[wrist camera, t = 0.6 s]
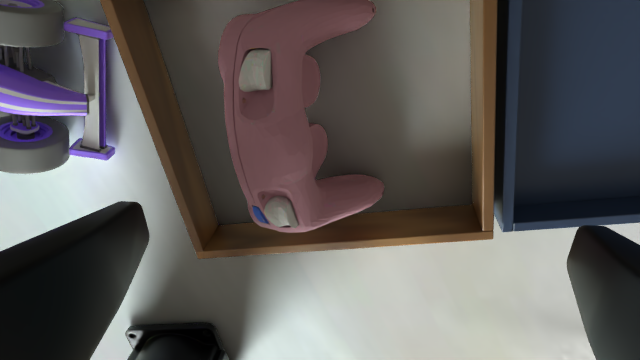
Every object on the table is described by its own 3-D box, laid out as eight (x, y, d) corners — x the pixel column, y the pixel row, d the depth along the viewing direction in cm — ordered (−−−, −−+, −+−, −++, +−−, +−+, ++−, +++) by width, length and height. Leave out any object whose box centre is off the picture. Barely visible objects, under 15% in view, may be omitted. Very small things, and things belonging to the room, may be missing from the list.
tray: (492, 210, 22) (502, 232, 20) (496, -94, 16) (511, -100, 14) (689, 194, 20) (719, 217, 19) (779, -152, 14) (835, -167, 12)
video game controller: (294, -7, 20) (174, 19, 15) (384, -14, 17) (277, 14, 12) (318, 181, 24) (233, 250, 19) (392, 197, 22) (316, 281, 17)
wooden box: (213, 232, 25) (197, 259, 23) (126, -19, 19) (93, -15, 16) (481, 211, 22) (493, 239, 20) (482, -91, 16) (499, -98, 14)
